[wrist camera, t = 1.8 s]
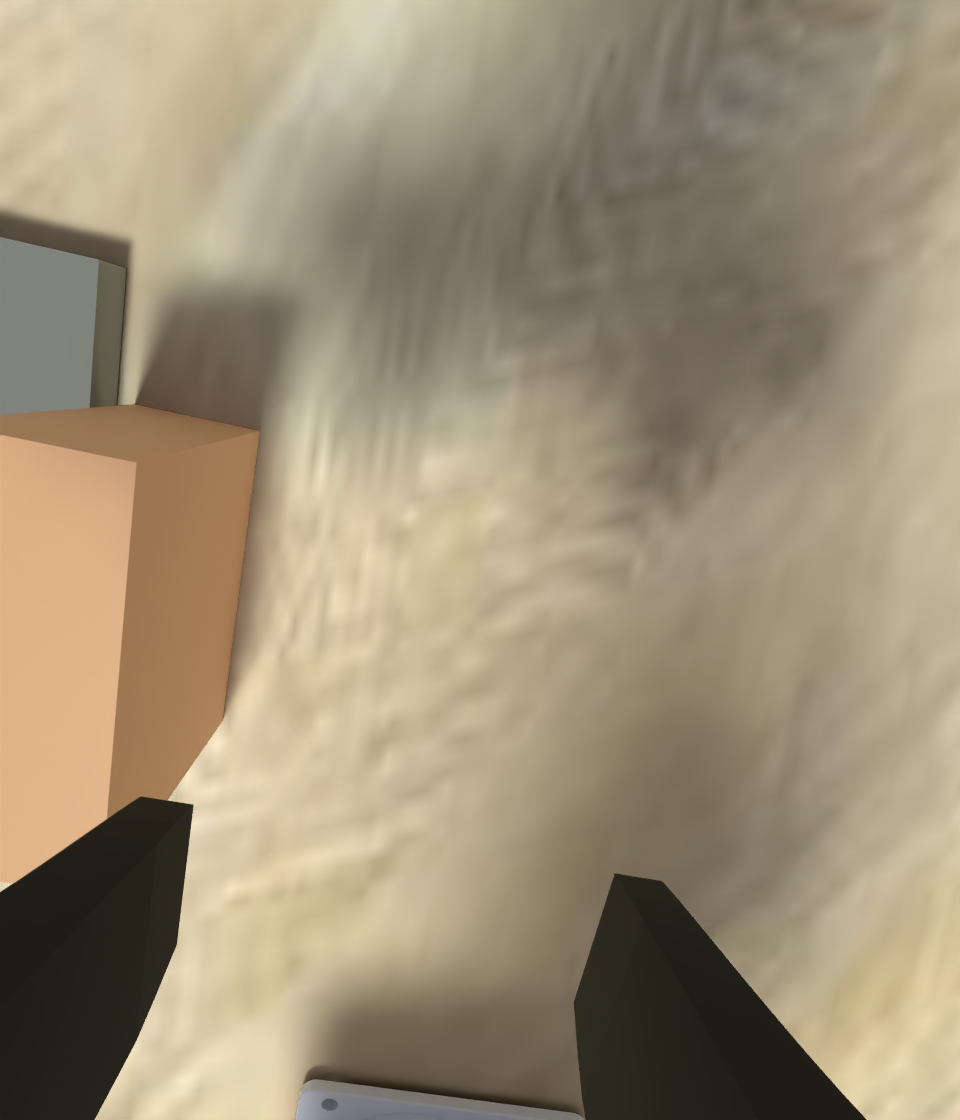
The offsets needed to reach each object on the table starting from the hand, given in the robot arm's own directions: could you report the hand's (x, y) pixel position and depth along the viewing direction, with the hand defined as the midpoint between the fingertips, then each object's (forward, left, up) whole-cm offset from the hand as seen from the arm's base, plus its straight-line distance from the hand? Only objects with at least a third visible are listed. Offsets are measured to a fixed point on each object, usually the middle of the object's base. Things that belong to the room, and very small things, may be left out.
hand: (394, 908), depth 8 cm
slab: (+7, 0, -10) cm, 12 cm away
